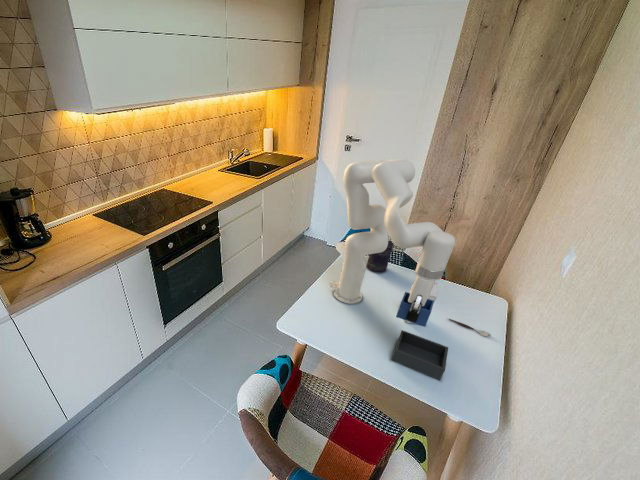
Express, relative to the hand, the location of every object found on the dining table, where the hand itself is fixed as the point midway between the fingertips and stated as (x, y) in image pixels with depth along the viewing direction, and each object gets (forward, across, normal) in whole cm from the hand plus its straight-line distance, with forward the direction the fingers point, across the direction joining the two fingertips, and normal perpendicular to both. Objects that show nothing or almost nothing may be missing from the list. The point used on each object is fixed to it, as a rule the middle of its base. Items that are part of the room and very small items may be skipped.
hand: (413, 313), depth 109 cm
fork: (+18, -30, +21) cm, 41 cm away
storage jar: (+18, -55, -23) cm, 62 cm away
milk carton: (+18, -23, +1) cm, 29 cm away
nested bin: (+1, 0, 0) cm, 1 cm away
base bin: (+18, 0, +6) cm, 19 cm away
